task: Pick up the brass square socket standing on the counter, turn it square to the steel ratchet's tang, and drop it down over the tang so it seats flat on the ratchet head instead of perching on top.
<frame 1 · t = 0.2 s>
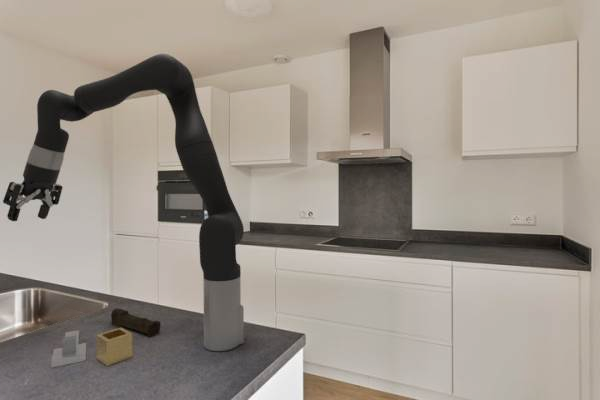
hand: (27, 219, 94), 31 cm above the worktop, tool tilted 20°, fingers open, 8 cm apart
socket: (114, 357, 80), on the worktop
hand tool: (131, 330, 96), on the worktop
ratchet: (69, 358, 80), on the worktop
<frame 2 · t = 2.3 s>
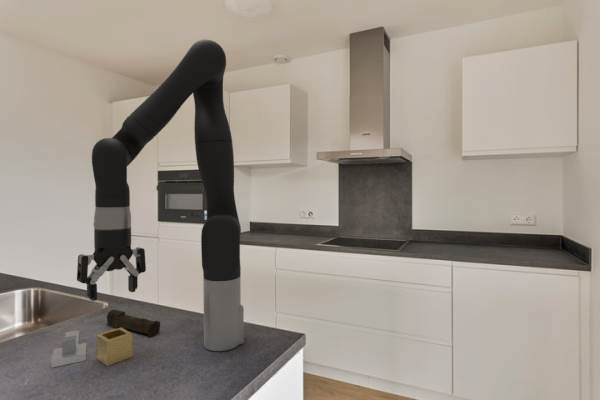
hand: (113, 295, 80), 15 cm above the worktop, tool pointing down, fingers open, 8 cm apart
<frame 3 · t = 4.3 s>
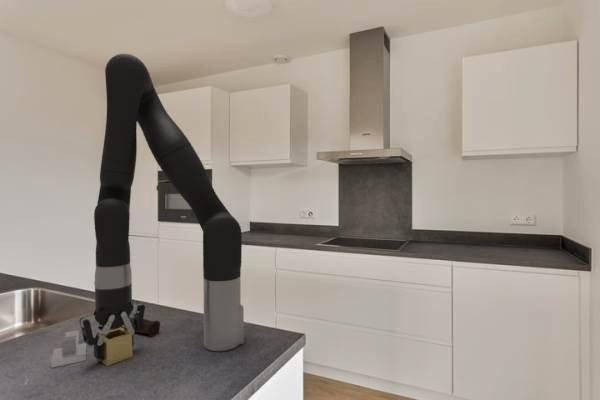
hand: (114, 354, 80), 1 cm above the worktop, tool pointing down, fingers closed on socket, 5 cm apart
socket: (114, 357, 80), on the worktop, touching gripper
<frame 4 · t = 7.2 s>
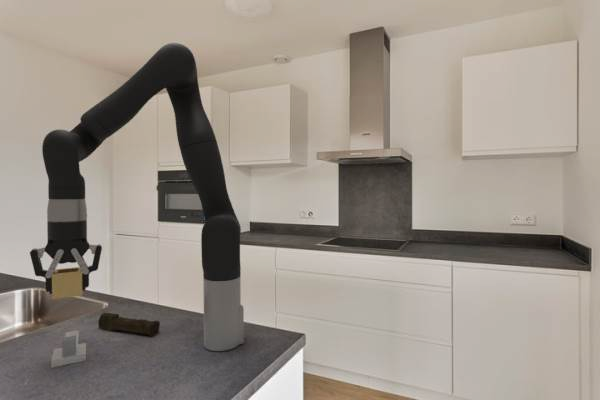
hand: (68, 291, 79), 16 cm above the worktop, tool pointing down, fingers closed on socket, 5 cm apart
socket: (68, 294, 79), point 15 cm above the worktop, touching gripper
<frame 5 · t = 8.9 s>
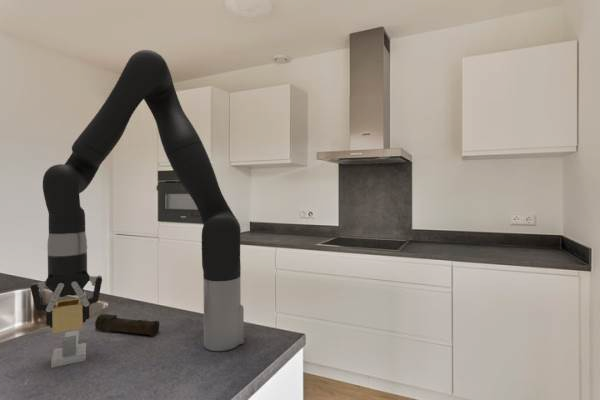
hand: (68, 323, 79), 8 cm above the worktop, tool pointing down, fingers closed on socket, 5 cm apart
socket: (68, 326, 79), point 7 cm above the worktop, touching gripper
when the fingers open (6 cm above the worktop, at t = 10.4 s): socket drops 4 cm, resting on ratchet.
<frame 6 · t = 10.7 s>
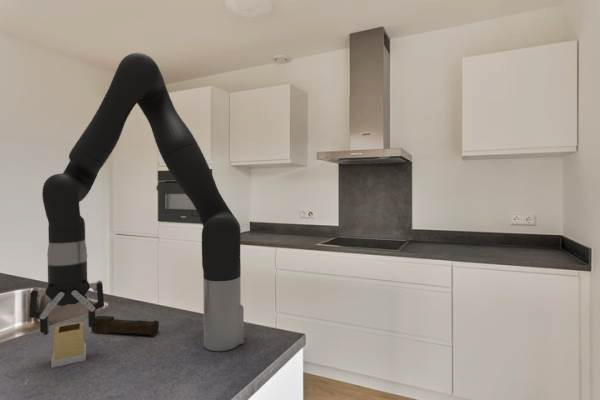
hand: (69, 329, 79), 7 cm above the worktop, tool pointing down, fingers open, 8 cm apart
socket: (69, 351, 80), point 2 cm above the worktop, touching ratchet
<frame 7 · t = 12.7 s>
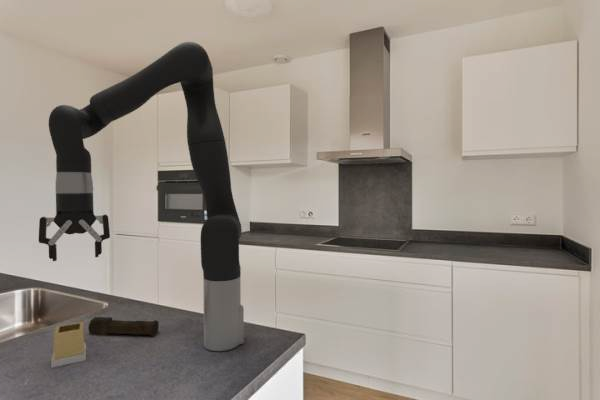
hand: (76, 258, 83), 23 cm above the worktop, tool pointing down, fingers open, 8 cm apart
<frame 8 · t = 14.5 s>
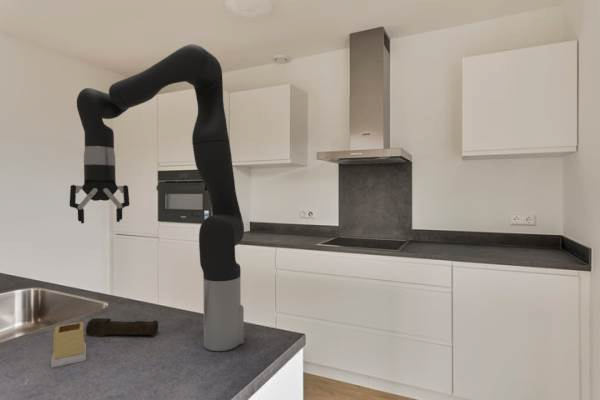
hand: (100, 222, 95), 30 cm above the worktop, tool pointing down, fingers open, 8 cm apart
at the end: socket 0.1 cm off-centre on the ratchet, point 1.6 cm above the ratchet's base; socket tilted 0°; the gripper is holding nothing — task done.
